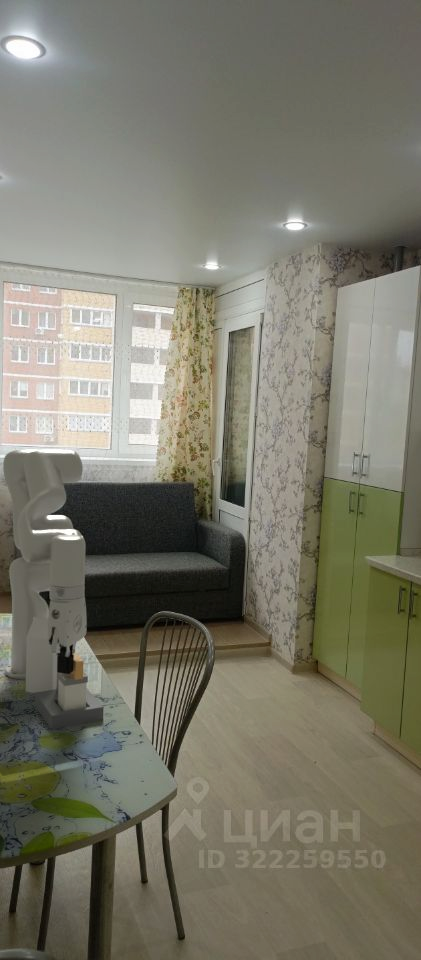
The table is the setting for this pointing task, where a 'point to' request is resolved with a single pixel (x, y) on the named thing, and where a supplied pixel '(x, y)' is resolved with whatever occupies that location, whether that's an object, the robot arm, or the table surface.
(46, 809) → the table surface
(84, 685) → the plug
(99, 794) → the table surface
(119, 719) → the table surface
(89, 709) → the socket
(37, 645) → the milk carton
